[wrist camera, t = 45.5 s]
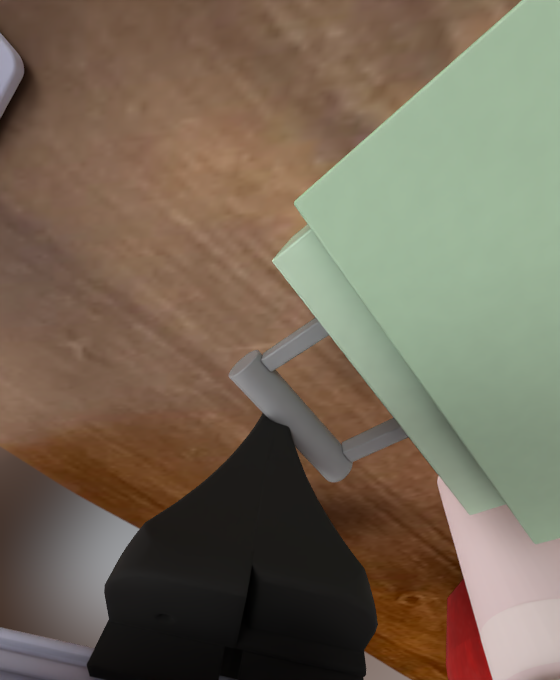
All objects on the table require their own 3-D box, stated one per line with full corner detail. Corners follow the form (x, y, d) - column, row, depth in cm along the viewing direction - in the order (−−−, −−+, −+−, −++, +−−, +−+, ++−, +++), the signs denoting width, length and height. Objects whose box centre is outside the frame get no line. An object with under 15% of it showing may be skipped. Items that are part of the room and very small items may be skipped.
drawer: (346, 446, 16) (359, 551, 11) (217, 299, 13) (158, 352, 8) (760, 252, 10) (1177, 294, 5) (684, -89, 7) (1424, -688, 2)
